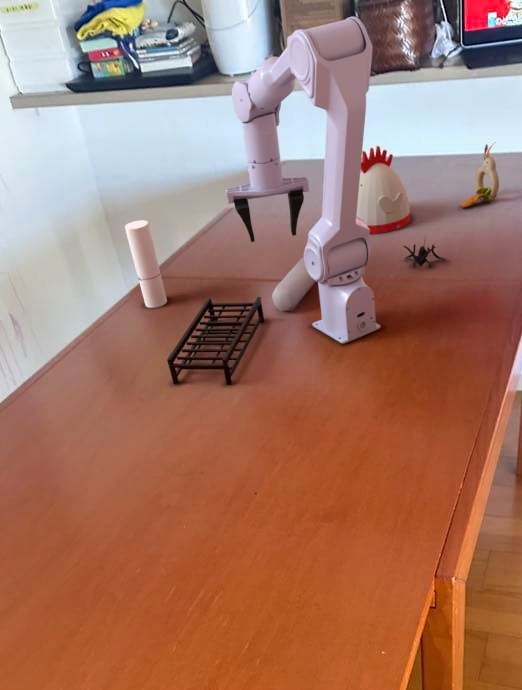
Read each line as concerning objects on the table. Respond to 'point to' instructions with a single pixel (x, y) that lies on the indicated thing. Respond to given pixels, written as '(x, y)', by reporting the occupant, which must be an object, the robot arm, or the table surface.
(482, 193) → the rattle
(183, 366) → the shoe rack
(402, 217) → the kitchen timer
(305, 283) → the tube
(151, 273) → the tube
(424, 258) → the creature
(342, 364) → the table surface
